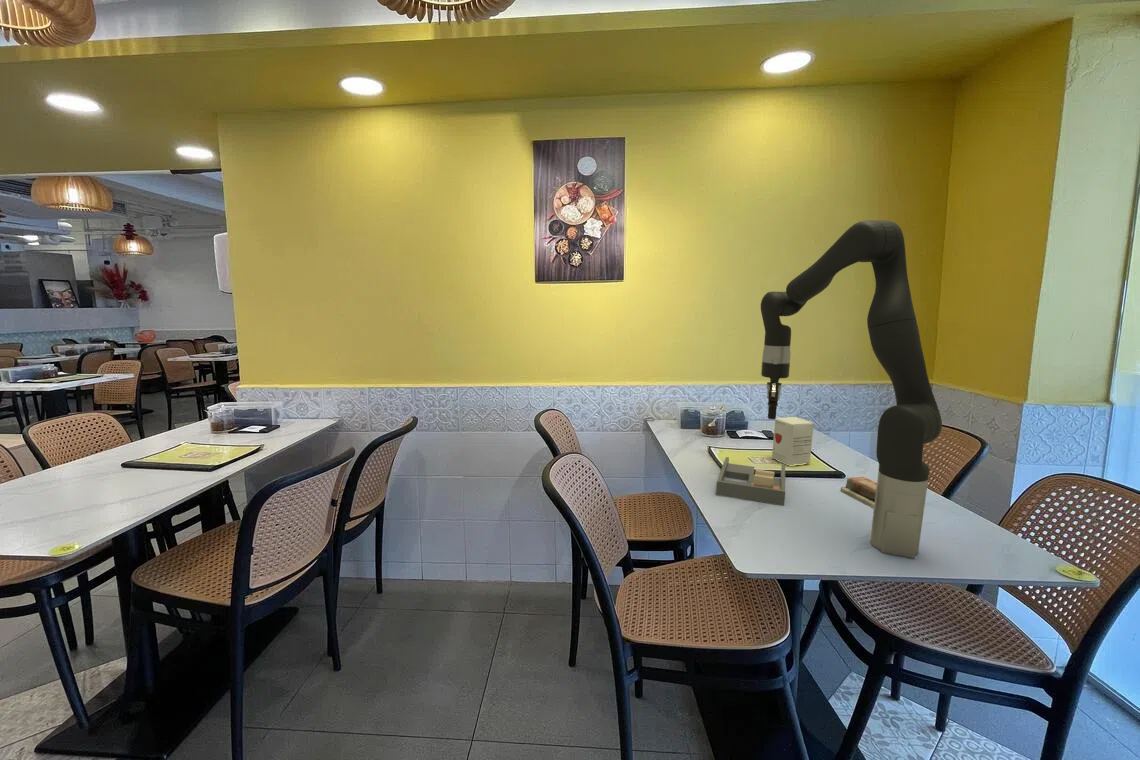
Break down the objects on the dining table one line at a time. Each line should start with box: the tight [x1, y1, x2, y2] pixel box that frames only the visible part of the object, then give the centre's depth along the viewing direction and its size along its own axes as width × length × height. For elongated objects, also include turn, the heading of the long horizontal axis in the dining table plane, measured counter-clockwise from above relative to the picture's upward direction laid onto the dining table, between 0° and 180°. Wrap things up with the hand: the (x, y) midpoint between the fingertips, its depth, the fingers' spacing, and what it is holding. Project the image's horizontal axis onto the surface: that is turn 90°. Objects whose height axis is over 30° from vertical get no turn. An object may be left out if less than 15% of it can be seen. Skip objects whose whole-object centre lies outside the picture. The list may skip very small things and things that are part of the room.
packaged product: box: [839, 476, 877, 510], centre depth 136 cm, size 18×5×10 cm
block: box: [754, 468, 775, 489], centre depth 140 cm, size 6×5×4 cm
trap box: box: [715, 456, 786, 506], centre depth 147 cm, size 24×18×4 cm
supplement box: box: [771, 416, 815, 465], centre depth 168 cm, size 9×9×15 cm
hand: (771, 418), depth 145 cm, fingers closed
